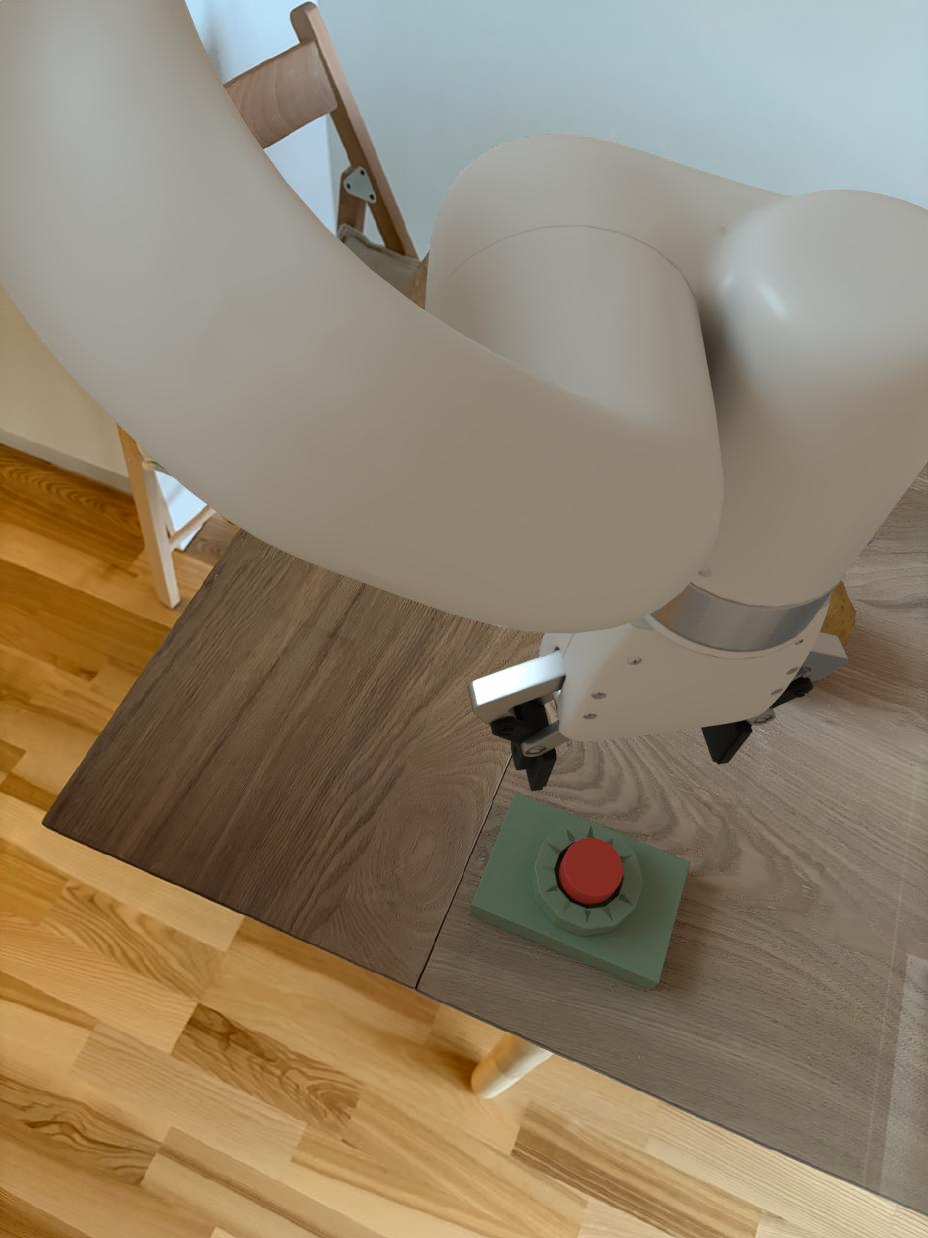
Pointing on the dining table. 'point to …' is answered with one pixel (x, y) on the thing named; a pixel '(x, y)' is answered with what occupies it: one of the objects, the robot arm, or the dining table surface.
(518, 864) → the green button box
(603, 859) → the bell button
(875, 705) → the dining table surface
